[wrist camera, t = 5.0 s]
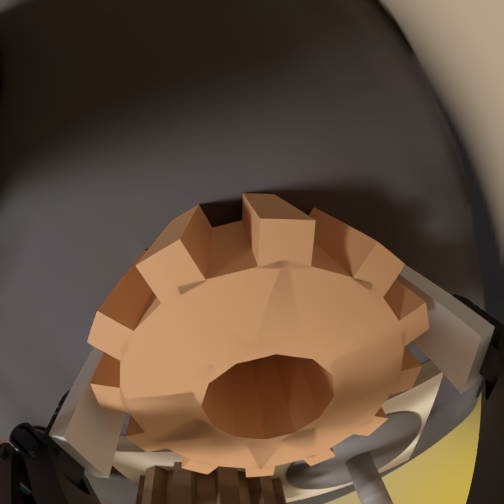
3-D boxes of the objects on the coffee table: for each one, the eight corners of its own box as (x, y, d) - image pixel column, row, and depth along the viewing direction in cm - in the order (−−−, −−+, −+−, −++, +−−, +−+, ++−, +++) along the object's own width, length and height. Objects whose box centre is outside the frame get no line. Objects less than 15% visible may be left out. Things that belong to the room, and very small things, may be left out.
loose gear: (95, 235, 10) (27, 284, 6) (353, 170, 11) (433, 181, 6) (181, 414, 14) (176, 485, 9) (365, 369, 14) (404, 430, 9)
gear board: (99, 434, 14) (77, 516, 7) (432, 358, 15) (493, 428, 8) (176, 501, 19) (175, 557, 12) (403, 449, 19) (430, 500, 12)
